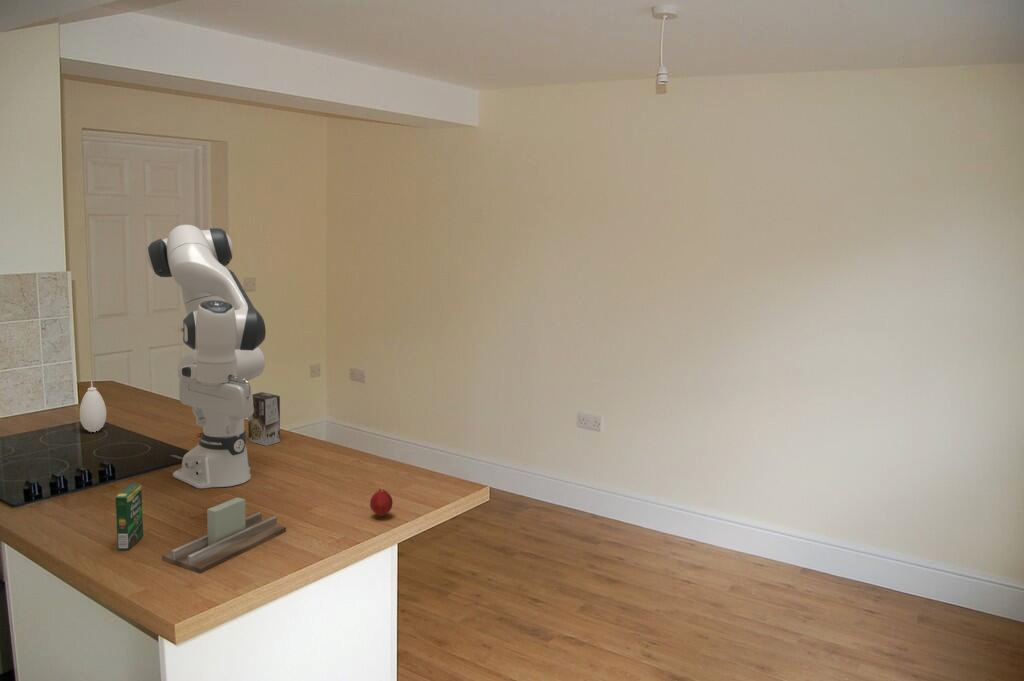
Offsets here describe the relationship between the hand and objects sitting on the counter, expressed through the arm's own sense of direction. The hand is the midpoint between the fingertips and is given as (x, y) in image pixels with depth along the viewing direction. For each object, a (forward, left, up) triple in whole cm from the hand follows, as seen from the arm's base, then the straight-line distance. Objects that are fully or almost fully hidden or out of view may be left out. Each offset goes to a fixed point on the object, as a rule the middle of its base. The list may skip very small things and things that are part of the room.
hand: (216, 429), depth 177 cm
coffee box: (-46, +62, -27) cm, 82 cm away
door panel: (+5, -2, -26) cm, 26 cm away
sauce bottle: (-100, +38, -27) cm, 111 cm away
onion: (+25, +31, -27) cm, 48 cm away
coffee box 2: (-14, -13, -27) cm, 33 cm away
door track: (+5, -2, -27) cm, 27 cm away
